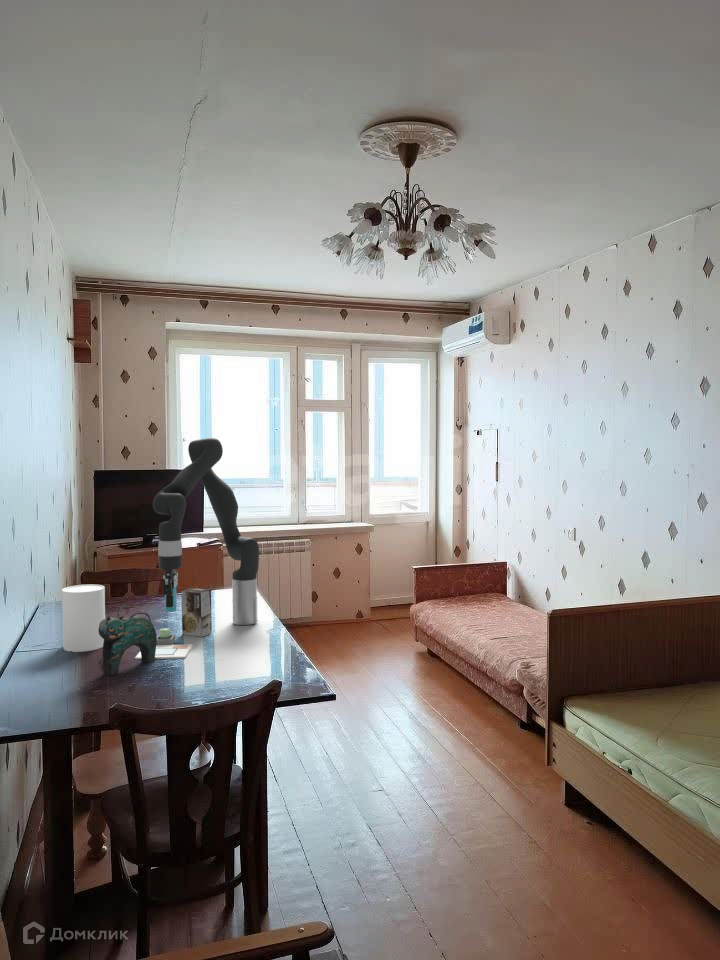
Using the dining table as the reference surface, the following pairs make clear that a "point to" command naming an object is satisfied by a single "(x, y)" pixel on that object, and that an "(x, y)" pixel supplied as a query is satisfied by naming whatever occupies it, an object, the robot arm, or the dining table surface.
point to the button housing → (166, 640)
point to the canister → (82, 617)
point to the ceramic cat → (126, 639)
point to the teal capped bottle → (171, 609)
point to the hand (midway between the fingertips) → (170, 605)
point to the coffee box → (196, 612)
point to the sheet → (170, 651)
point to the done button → (164, 633)
